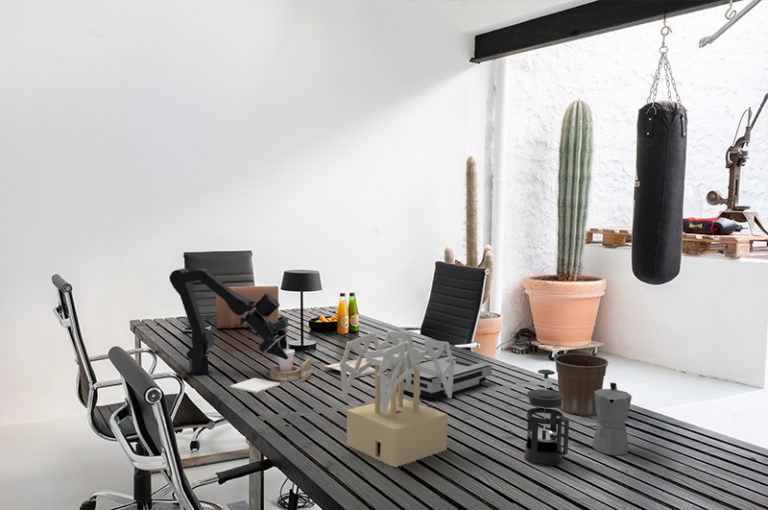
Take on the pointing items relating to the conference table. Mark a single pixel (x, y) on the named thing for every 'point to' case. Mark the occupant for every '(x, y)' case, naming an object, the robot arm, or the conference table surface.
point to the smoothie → (287, 364)
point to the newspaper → (352, 363)
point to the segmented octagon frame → (293, 372)
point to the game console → (463, 378)
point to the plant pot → (579, 381)
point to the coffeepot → (611, 421)
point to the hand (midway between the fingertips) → (289, 356)
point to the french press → (541, 440)
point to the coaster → (254, 385)
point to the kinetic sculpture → (396, 400)
